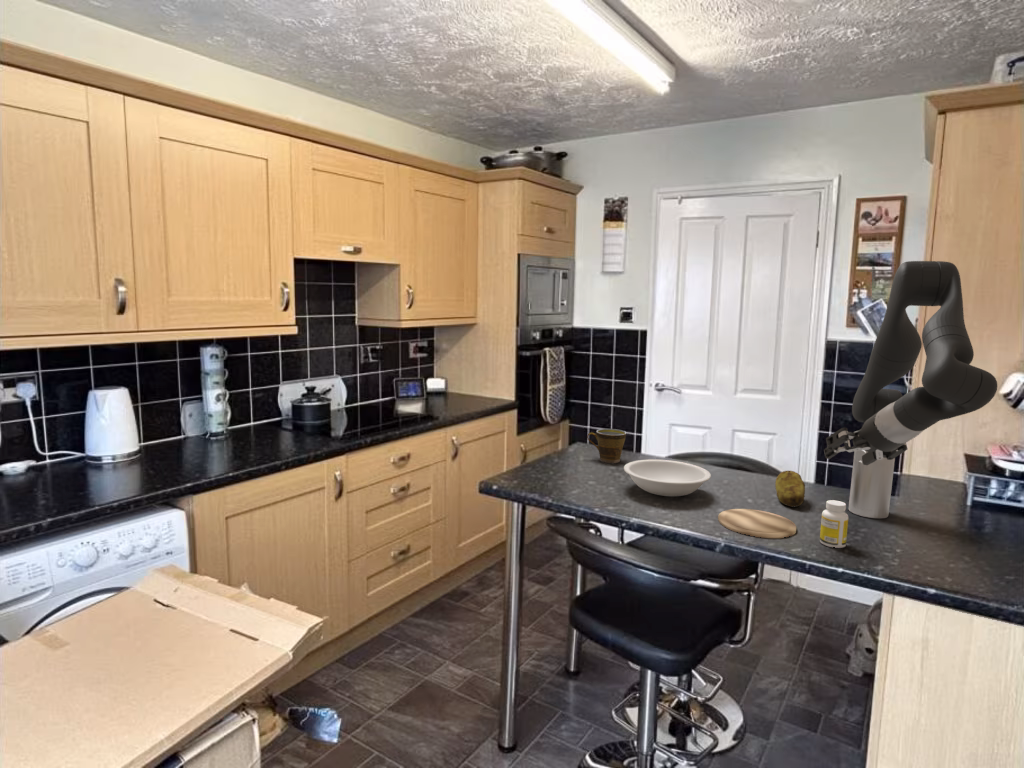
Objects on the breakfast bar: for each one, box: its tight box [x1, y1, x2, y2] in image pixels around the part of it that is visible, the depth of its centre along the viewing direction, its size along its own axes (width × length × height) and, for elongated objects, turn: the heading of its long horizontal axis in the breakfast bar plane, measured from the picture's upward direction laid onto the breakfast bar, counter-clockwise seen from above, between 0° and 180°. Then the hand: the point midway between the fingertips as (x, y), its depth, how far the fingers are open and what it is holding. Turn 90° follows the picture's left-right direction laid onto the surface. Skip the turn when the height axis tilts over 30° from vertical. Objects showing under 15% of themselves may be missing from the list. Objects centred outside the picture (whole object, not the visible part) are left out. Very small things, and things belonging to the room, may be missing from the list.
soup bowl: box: [623, 459, 712, 497], centre depth 176 cm, size 24×24×7 cm
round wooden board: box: [717, 508, 797, 539], centre depth 153 cm, size 18×18×1 cm
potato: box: [774, 470, 806, 508], centre depth 170 cm, size 8×13×8 cm, turn 148°
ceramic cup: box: [586, 428, 627, 464], centre depth 209 cm, size 13×10×10 cm
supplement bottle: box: [819, 499, 849, 549], centre depth 141 cm, size 5×5×10 cm
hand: (845, 458), depth 134 cm, fingers open, 8 cm apart
